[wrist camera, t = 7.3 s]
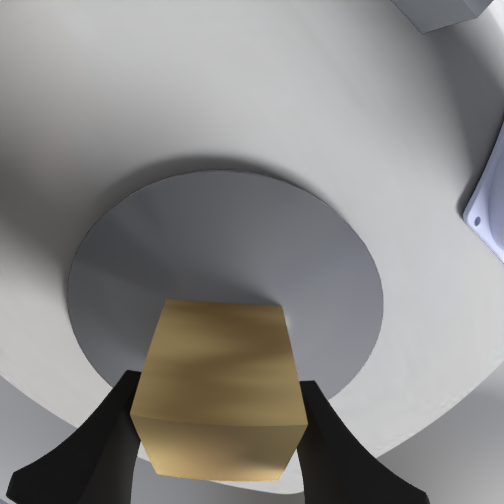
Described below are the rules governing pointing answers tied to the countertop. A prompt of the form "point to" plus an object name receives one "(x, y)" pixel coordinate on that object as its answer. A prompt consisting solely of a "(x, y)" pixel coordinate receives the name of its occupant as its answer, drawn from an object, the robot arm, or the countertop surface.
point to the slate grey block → (440, 12)
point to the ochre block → (220, 393)
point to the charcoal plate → (226, 271)
